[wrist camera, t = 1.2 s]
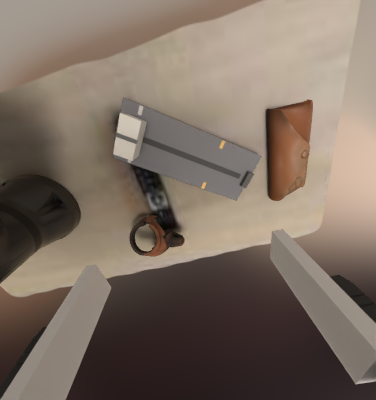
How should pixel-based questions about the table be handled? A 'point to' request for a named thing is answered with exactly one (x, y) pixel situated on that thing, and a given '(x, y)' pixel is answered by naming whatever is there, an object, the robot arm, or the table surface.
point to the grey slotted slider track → (190, 154)
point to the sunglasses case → (288, 147)
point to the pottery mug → (161, 244)
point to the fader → (129, 136)
